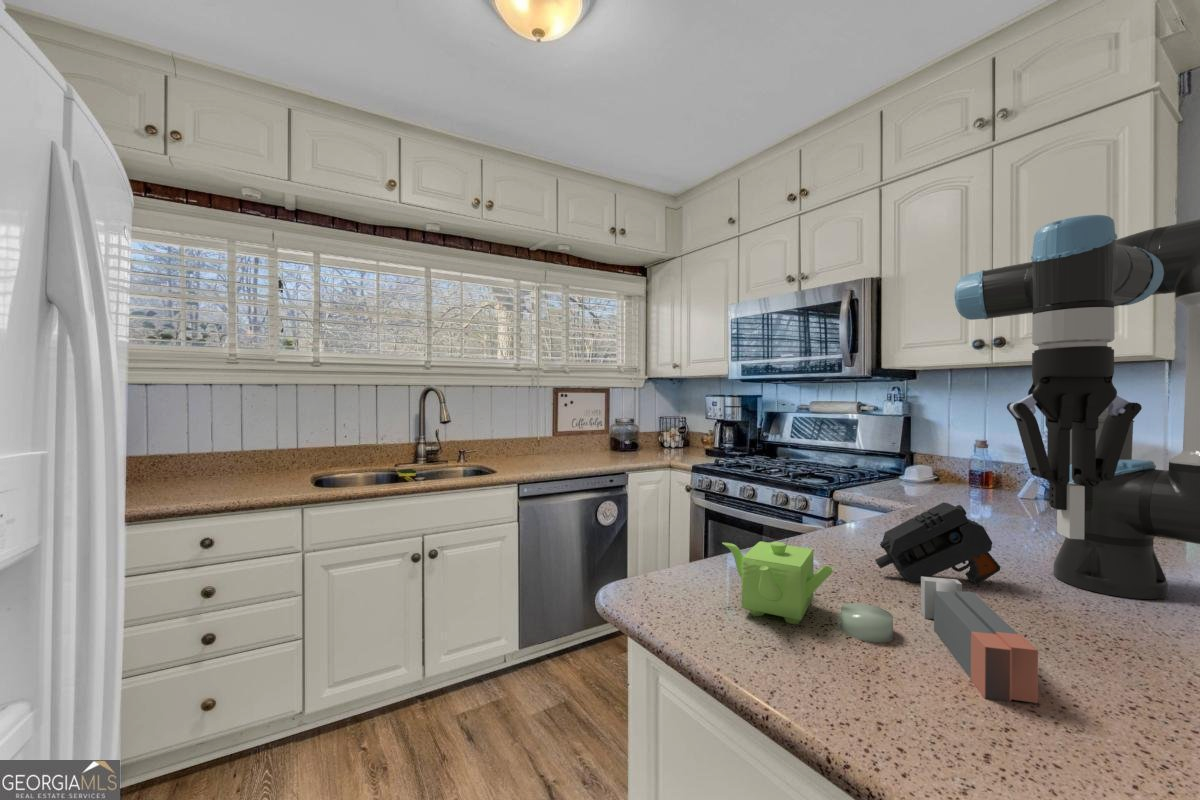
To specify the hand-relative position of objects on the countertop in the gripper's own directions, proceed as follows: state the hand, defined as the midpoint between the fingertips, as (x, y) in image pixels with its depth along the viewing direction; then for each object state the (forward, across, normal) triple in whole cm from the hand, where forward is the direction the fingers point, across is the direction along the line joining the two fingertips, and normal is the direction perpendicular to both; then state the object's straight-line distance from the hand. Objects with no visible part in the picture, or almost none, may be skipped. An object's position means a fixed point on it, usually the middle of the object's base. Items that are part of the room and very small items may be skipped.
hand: (1070, 535), depth 65 cm
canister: (+19, -47, -85) cm, 99 cm away
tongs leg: (+18, +8, -1) cm, 19 cm away
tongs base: (+18, +9, -4) cm, 21 cm away
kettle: (+18, +35, -11) cm, 41 cm away
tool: (+18, +5, -34) cm, 39 cm away
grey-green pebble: (+18, +22, -7) cm, 29 cm away
